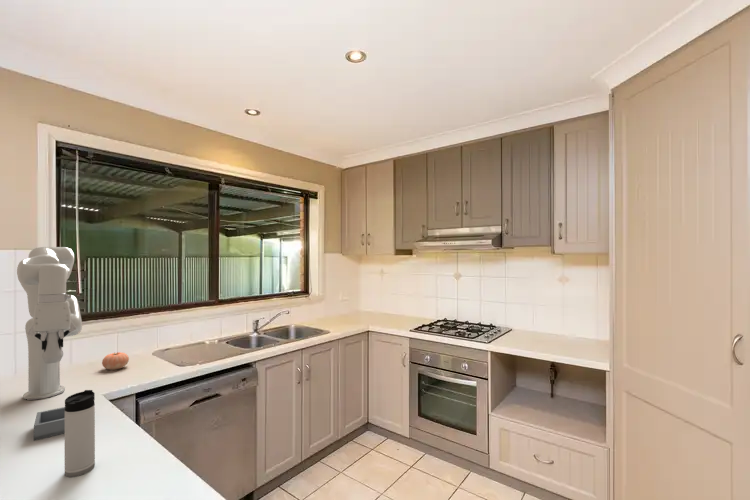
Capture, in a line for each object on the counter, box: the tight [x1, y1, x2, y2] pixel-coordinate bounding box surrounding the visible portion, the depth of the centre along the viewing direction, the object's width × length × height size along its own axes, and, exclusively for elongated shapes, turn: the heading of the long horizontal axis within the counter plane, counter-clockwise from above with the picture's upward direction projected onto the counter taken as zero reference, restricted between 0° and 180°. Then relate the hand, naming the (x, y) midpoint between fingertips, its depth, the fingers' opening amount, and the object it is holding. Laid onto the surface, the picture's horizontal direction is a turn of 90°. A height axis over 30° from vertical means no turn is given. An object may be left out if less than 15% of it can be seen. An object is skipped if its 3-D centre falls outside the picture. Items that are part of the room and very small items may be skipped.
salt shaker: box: [42, 329, 64, 364], centre depth 132 cm, size 6×6×13 cm
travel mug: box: [64, 389, 96, 478], centre depth 98 cm, size 6×7×20 cm
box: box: [33, 406, 65, 441], centre depth 121 cm, size 12×12×4 cm
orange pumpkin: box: [101, 351, 130, 371], centre depth 181 cm, size 11×11×8 cm
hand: (52, 350), depth 132 cm, fingers closed on salt shaker, 3 cm apart
